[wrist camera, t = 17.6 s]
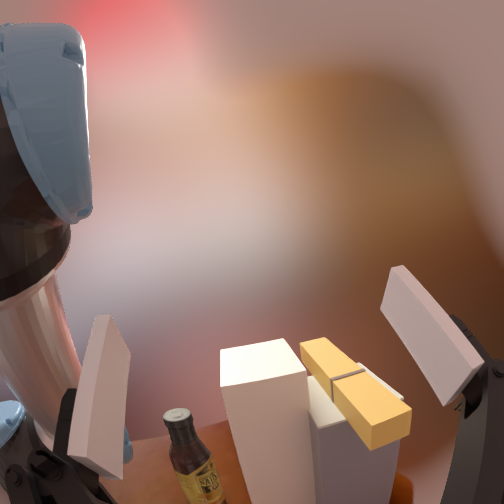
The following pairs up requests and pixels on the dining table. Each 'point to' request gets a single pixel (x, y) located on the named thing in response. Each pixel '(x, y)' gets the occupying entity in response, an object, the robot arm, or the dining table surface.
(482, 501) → the robot arm
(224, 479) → the dining table surface
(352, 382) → the yellow long bar
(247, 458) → the cream pillar
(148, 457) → the dining table surface
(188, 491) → the sauce bottle
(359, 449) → the grey upright block
